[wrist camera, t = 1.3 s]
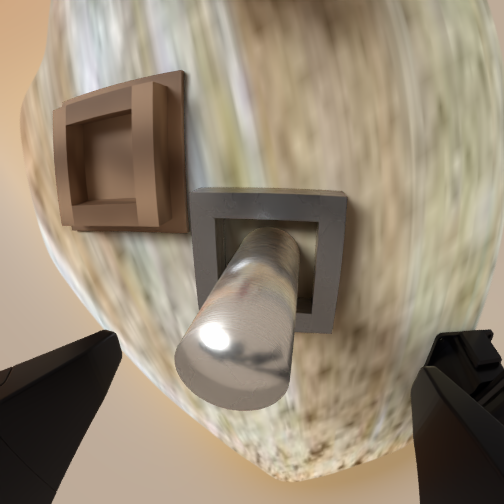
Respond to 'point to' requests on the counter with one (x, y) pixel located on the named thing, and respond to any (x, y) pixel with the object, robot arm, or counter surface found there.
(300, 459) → the counter surface
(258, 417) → the counter surface
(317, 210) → the socket block
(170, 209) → the brown square tray
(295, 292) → the silver metal cylinder
